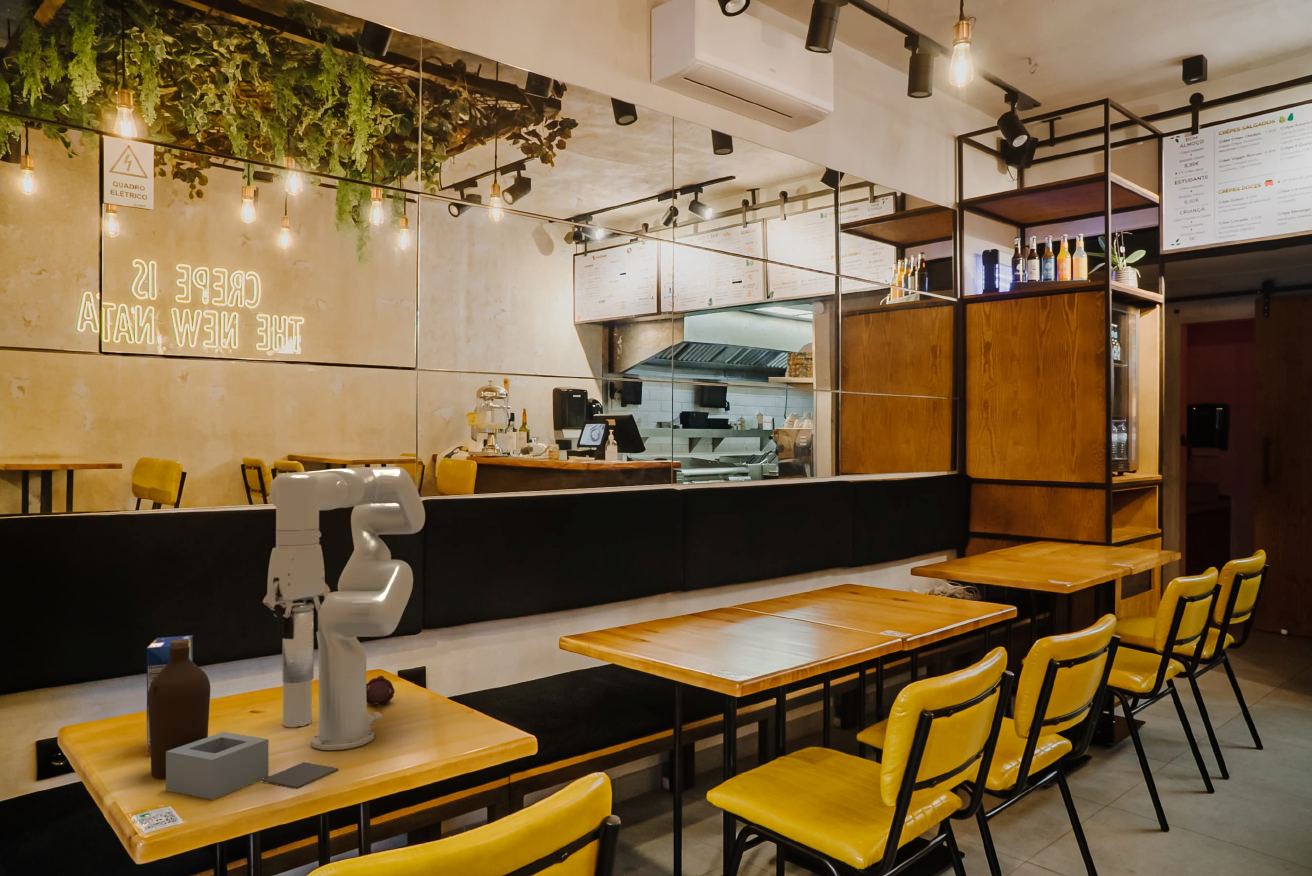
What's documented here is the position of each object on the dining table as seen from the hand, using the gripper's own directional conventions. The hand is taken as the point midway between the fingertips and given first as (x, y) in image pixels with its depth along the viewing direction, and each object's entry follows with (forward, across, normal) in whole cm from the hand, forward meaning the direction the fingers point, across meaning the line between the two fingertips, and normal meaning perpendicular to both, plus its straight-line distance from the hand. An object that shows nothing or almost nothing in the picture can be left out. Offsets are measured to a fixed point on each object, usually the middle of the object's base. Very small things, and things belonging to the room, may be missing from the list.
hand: (298, 634), depth 160 cm
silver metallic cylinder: (+8, 0, 0) cm, 8 cm away
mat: (+27, 0, 0) cm, 27 cm away
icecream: (+27, -44, -20) cm, 55 cm away
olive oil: (+27, +6, -24) cm, 37 cm away
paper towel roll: (+27, -25, -26) cm, 45 cm away
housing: (+27, +8, -12) cm, 30 cm away
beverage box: (+27, -3, -40) cm, 48 cm away
